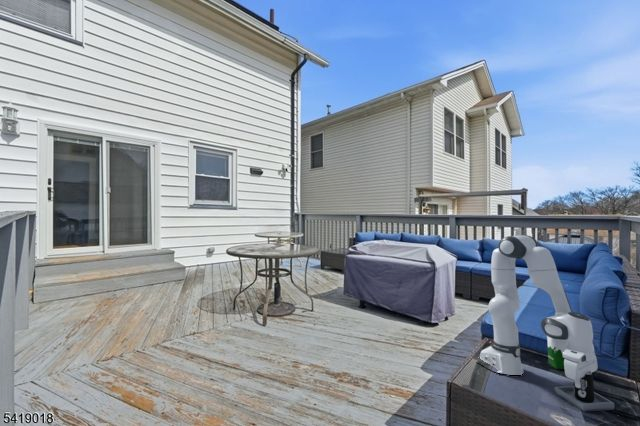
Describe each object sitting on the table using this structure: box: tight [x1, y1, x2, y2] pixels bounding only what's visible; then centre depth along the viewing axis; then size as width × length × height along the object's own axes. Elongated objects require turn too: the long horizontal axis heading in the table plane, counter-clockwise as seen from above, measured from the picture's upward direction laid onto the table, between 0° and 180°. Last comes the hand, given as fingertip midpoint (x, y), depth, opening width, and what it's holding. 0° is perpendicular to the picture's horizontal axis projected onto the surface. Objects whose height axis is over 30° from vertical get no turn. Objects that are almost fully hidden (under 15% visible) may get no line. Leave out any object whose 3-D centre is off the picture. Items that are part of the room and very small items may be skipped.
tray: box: [554, 385, 616, 412], centre depth 128 cm, size 14×14×3 cm
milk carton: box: [546, 335, 567, 370], centre depth 160 cm, size 9×9×20 cm
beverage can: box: [572, 372, 595, 403], centre depth 128 cm, size 7×7×12 cm
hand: (583, 384), depth 128 cm, fingers closed on beverage can, 6 cm apart
